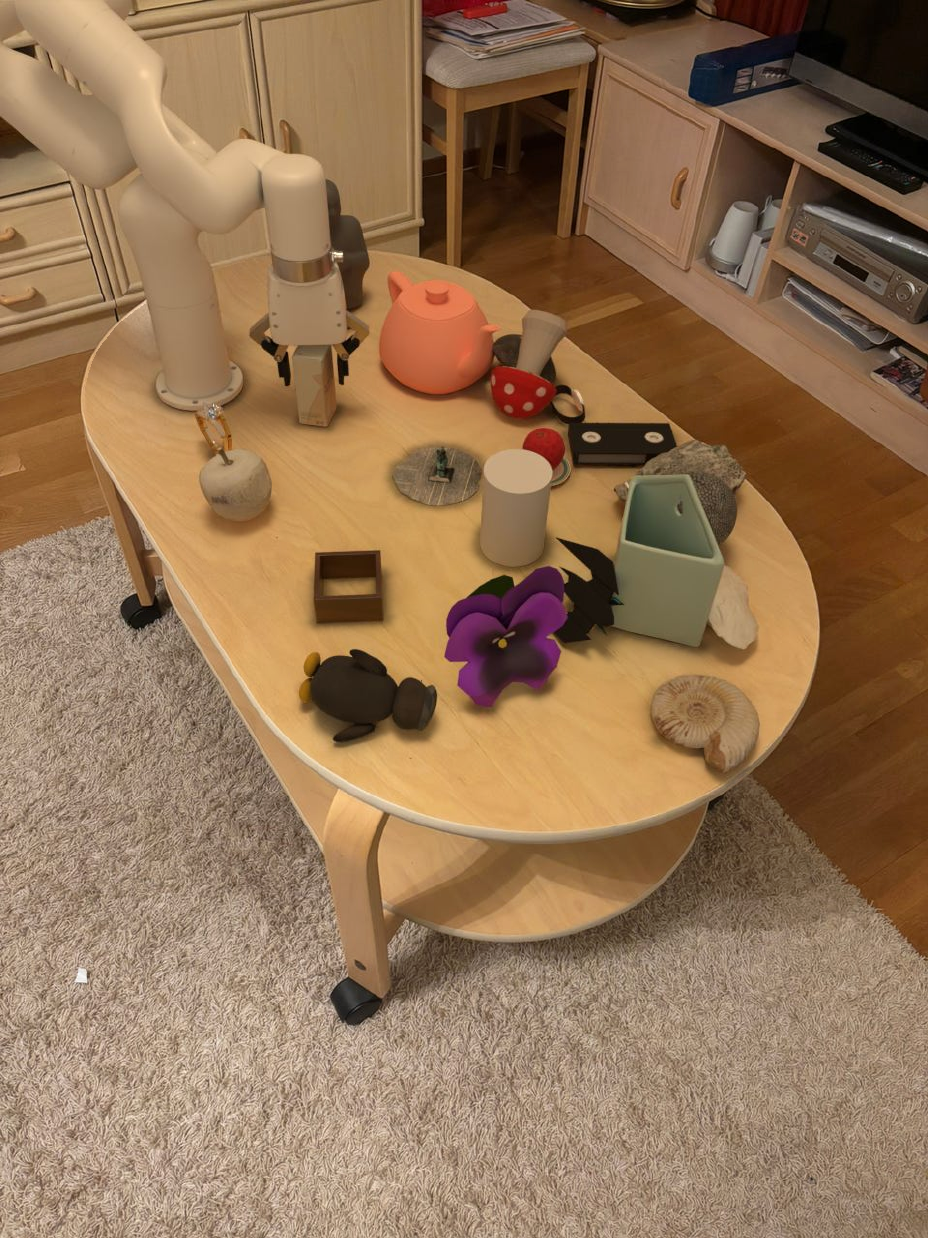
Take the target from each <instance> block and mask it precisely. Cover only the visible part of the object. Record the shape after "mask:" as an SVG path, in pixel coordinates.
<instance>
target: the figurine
mask: <svg viewBox="0 0 928 1238" xmlns="http://www.w3.org/2000/svg"><path fill="white" fill-rule="evenodd" d="M325 180H326V192H327V204H328V217H329V229H330V242H331V248H332V247H333V248H334V250H337V251H343V262H338V263H336V264H337V265H338V267H339V270H340V273H341V277H342V282H343V287H344V293H345V301H346V309H352V308H355V307H358V306H360V305H362V304H363V301H364V300H363V295H364V291H363V290H364V289H363V283H364V282H363V281H364V277H365V274H366V272H367V271H368V270H369V268H370V262H371V261H370V255H369V251H368V248H367V244H366V239H365V236H364V233H363V229H362V225H361V222H360V221H359V220H358V218H357V217H356V216H353V215H350V214H342V204H341V196H340V192H339V188H338V187H337V184H336V183H335V182H334V181H333V180H330V179H328V178H325Z"/></svg>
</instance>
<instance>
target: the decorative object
mask: <svg viewBox="0 0 928 1238" xmlns="http://www.w3.org/2000/svg"><path fill="white" fill-rule="evenodd" d="M217 450H218V452H219V454H218V455H215V456H213V457H211V458H210V459H209V460H208V461H207V462H206V463H205V464H204V465H203V467H202V468H201V469H200V472H199V475H198V476H199V477H198V479H199V480H198V482H199V486H200V489H201V491H202V495H203V497H204V498H205V500H206V502H207V503H208V505H209V507H210V508H212V510H214V512H216V513H217V514H218V515H220V517H223V518H224V519H226V520H229V521H232V522H247V521H250V520H253V519H255V518H257V517H258V516H260V515H261V514H262V512H264V511H265V510H266V509H267V507H268V505H269V504H270V500H271V497H272V491H273V490H272V489H273V483H272V482H273V481H272V478H271V474H270V471H269V469H268V466H267V464H266V462H265V460H264V459H263V457H261V456H260V455H259V454H258V453H256V452H254V451H252V450H249V449H244V448H234V449H233V448H232V450H229V451H225V452H224V450H223V447H221V446H220V448H218V449H217Z"/></svg>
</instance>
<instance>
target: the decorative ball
mask: <svg viewBox="0 0 928 1238" xmlns="http://www.w3.org/2000/svg"><path fill="white" fill-rule="evenodd" d="M683 474H688V475H689V476H690V477H691V479H692V482H693V485H694V487H695V490H696V492H697V495H698V497H699V500H700V502H701V505H702V507H703V510H704V512H705V515H706V517H707V519H708V522H709V524H710V527H711V529H712V531H713V534H714V536H715V539H716V541H717V544H718V547H720V545H722V543H724V542H725V541H726V540H727V539H728V538H729V536H730V535H731V534H732V532H733V530H734V528H735V525H736V522H737V518H738V504H737V500H736V497H735V494H734V495H733V493H732V491H731V489H730V488H729V487H728V485H727V484H726V483H725V482H724V481H722V480H721V479H720V478H718V477H717V476H715V475H713V474H710V473H706V472H701V471H692V472H686V473H683ZM677 508H678V511H679V513H680V514H682V513H683V510H682V501H681V502H680V503H679V504H678V505H677Z"/></svg>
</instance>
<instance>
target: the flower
mask: <svg viewBox="0 0 928 1238" xmlns="http://www.w3.org/2000/svg"><path fill="white" fill-rule="evenodd" d="M564 583H565V581H564V578H563V575H562V573H561V572H560V570H558V568H556V567H553V566H551V565H546V566H542V567H541V566H540V567H537V568H535V569H534V570H533V571H532V572H531V573H529V574H528V575H527V576H526V577H525V578H524V579H523V580H521V581H520V582H519V583H517V584H516V585H515V582H514V577H513V576H510V575H507V574H502V575H499V576H497V577H494V578H490V579H489V580H488V581H486V582H484V583H483V584H481V585H479V586H478V587H477V588H475V590H473V591H472V592H471V593H470V594H468V595H467V596H466V597H465V598H463V599H459V600H458V601H457V602H455V603H454V604H453V605H452V606H451V608H450V610H449V611H448V613H447V616H446V620H445V628H446V629H445V630H446V635H447V636H448V640H447V643H446V646H445V651H444V656H443V657H444V659H445V660H447V661H448V662H449V663H465V664H464V665H463V666H462V667H461V668H460V669H459V670H458V677H457V687H458V688H459V689H460V690H461V691H462V692H464V693H465V694H466V695H467V696H468V697H469V698H470V700H471V701H472V702H473V703H474V705H475V706H480V707H486V708H488V707H493V706H494V704H495V702H496V701H497V699H498V698H499V696H500V695H501V694H502V692H503V691H504V690H505V689H506V688H507V687H509V686H510V685H511V684H512V683H521V684H525V685H527V686H528V687H531V688H533V689H534V690H536V691H540V690H541V688H543V687H544V685H545V684H547V682H548V680H549V677H550V676H551V674H553V672H554V671H555V670H556V669H557V668H558V664H559V661H560V657H561V654H562V650H561V648H560V646H559V645H558V644H557V642H556V640H555V639H553V638H549V637H548V636H550V635H551V634H554V631H556V630H557V629H559V628H560V627H562V626H563V624H564V623H565V621H566V620H567V618H568V617H567V612H566V608H565V605H564V604H563V602H564V599H565V593H564Z"/></svg>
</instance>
